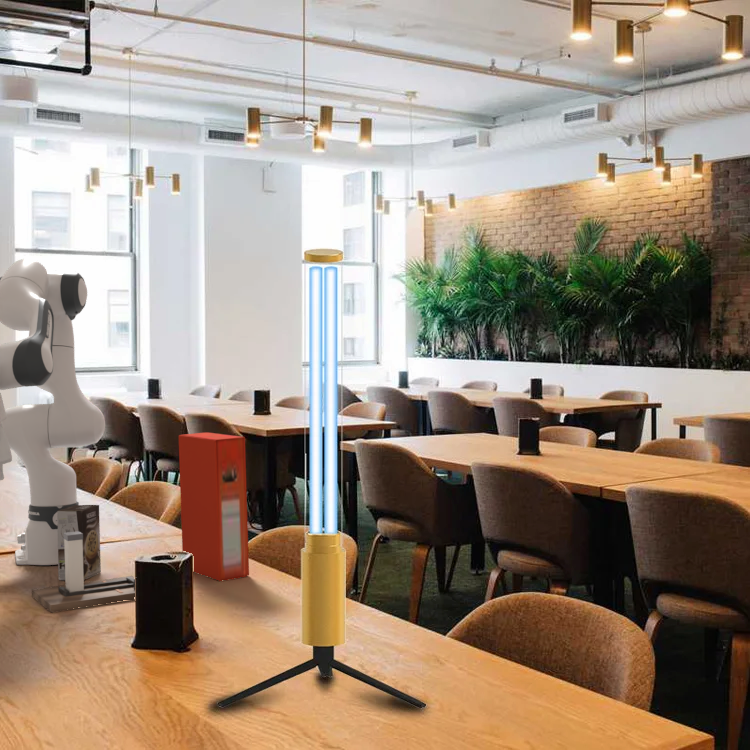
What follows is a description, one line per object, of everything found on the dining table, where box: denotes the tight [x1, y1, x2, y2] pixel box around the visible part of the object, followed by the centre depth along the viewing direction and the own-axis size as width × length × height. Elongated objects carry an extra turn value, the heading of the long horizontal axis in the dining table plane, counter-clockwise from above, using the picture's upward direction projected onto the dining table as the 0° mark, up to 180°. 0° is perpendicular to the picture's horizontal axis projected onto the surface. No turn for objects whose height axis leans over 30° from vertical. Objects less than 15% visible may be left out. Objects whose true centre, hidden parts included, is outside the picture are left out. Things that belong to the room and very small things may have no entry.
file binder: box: [178, 431, 250, 582], centre depth 243 cm, size 8×17×32 cm, turn 38°
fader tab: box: [63, 531, 85, 592], centre depth 221 cm, size 3×3×12 cm
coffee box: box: [57, 504, 102, 581], centre depth 242 cm, size 9×6×16 cm
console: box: [31, 575, 135, 613], centre depth 223 cm, size 16×22×4 cm
